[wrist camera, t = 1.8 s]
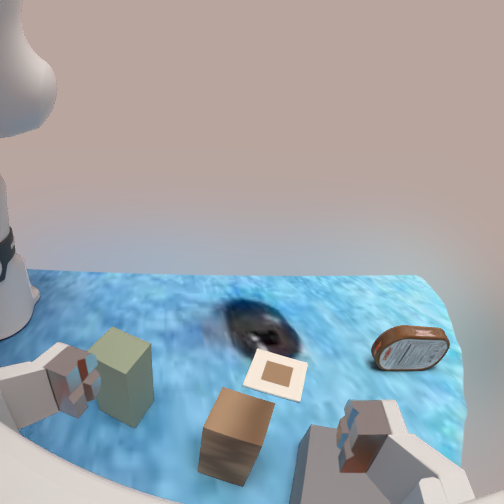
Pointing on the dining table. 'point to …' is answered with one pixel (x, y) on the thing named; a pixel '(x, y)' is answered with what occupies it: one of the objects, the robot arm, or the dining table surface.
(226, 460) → the walnut block
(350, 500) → the base block
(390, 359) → the tin
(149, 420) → the dining table surface
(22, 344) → the dining table surface
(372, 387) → the dining table surface
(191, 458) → the dining table surface
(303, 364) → the card
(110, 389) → the olive block
